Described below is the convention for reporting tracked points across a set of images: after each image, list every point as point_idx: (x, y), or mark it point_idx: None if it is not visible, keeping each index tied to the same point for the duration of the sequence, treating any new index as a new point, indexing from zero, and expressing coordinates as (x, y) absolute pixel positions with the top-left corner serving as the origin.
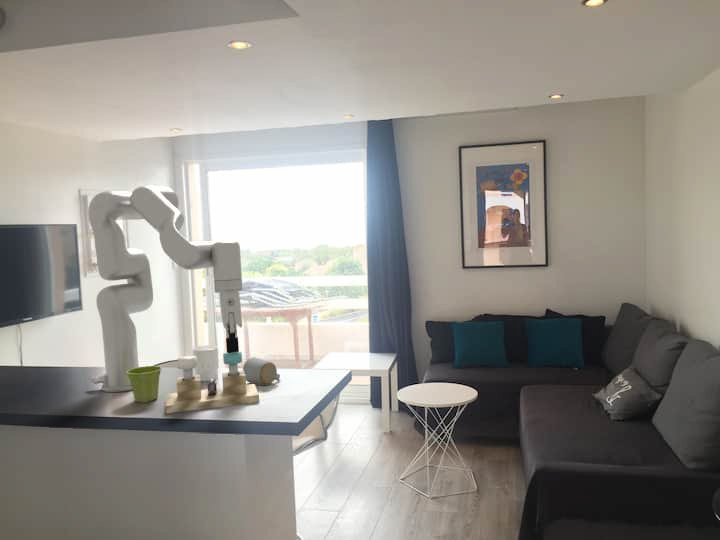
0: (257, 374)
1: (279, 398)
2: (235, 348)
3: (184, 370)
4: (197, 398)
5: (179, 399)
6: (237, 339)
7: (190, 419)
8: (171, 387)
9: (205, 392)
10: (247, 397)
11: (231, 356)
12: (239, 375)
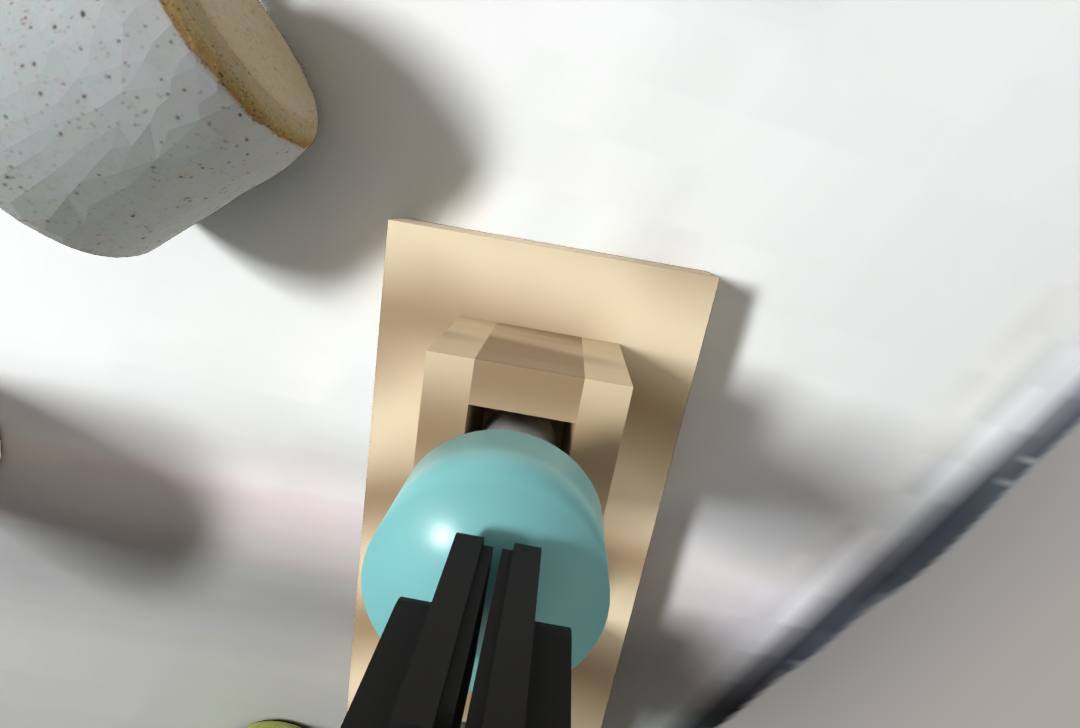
0: (273, 161)
1: (713, 110)
2: (570, 635)
3: None
4: None
5: None
6: (524, 720)
7: (766, 662)
8: (81, 632)
9: None
10: (695, 355)
11: (599, 620)
12: (605, 434)
